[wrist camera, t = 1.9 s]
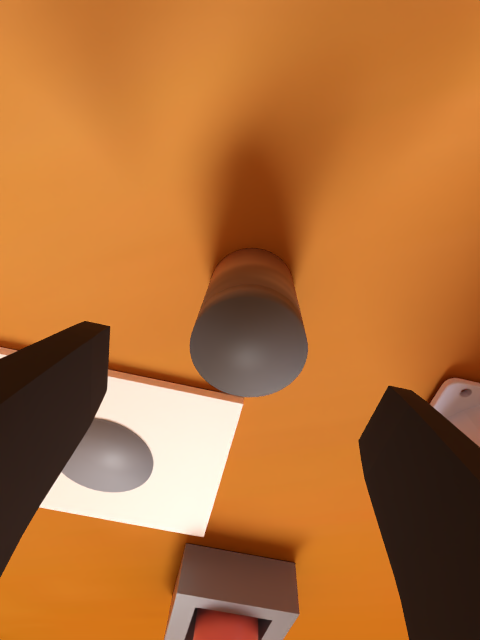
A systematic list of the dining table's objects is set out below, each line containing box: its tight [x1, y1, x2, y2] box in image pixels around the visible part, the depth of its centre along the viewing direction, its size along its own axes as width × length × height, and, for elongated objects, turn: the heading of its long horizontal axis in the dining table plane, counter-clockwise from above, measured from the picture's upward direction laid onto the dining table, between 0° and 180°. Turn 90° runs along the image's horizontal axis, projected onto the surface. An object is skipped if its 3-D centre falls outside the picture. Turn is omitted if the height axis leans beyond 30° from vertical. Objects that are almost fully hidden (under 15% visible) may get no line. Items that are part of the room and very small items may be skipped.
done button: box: [193, 608, 258, 640], centre depth 23 cm, size 4×4×2 cm
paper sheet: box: [0, 347, 243, 537], centre depth 20 cm, size 14×12×1 cm
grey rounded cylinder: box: [190, 248, 308, 397], centre depth 13 cm, size 4×4×5 cm
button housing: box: [164, 543, 299, 640], centre depth 25 cm, size 8×8×3 cm
